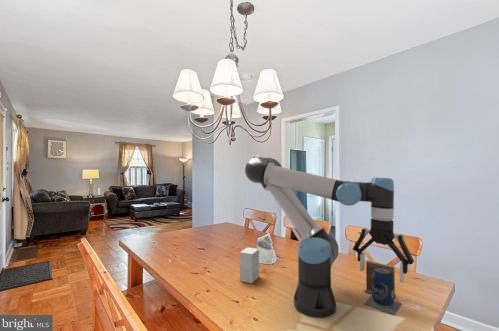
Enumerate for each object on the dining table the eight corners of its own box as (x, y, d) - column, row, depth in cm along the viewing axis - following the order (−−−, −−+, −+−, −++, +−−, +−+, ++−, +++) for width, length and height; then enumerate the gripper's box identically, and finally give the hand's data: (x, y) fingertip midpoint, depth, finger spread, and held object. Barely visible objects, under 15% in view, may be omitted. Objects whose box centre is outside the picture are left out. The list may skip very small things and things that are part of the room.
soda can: (369, 302, 91) (369, 269, 92) (376, 296, 96) (375, 265, 96) (390, 310, 86) (389, 275, 87) (396, 302, 91) (395, 270, 91)
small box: (246, 274, 118) (247, 247, 118) (259, 276, 115) (259, 248, 116) (239, 281, 110) (239, 251, 111) (252, 283, 108) (252, 253, 108)
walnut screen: (392, 301, 93) (392, 269, 94) (365, 292, 100) (364, 262, 101) (395, 296, 97) (395, 265, 97) (369, 288, 104) (368, 259, 104)
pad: (394, 315, 84) (394, 313, 84) (364, 304, 91) (364, 302, 91) (401, 304, 91) (401, 302, 91) (372, 295, 98) (372, 293, 98)
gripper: (423, 222, 86) (423, 283, 86) (352, 213, 103) (351, 263, 103) (420, 226, 81) (419, 291, 80) (344, 215, 98) (343, 268, 98)
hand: (381, 275), depth 92 cm, fingers open, 13 cm apart
